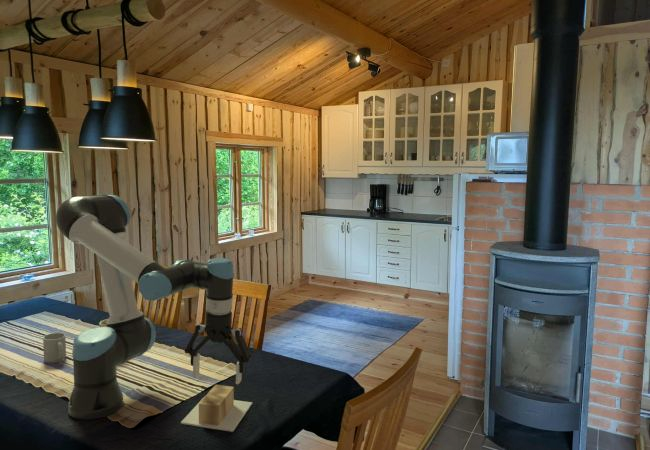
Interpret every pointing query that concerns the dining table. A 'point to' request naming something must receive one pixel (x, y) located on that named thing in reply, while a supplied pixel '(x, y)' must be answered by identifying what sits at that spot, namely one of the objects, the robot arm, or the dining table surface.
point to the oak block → (216, 405)
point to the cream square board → (227, 423)
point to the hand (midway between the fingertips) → (217, 379)
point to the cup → (54, 347)
